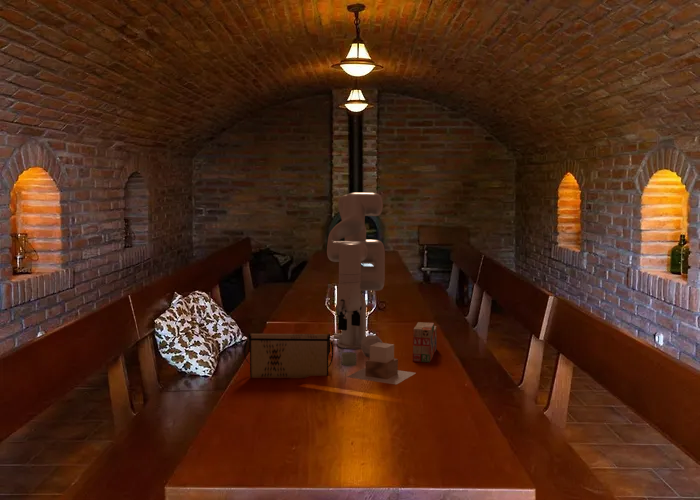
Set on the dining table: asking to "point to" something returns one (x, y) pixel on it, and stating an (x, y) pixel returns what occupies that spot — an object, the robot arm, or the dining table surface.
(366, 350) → the chicken leg
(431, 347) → the stack of blocks
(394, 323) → the dining table surface
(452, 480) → the dining table surface
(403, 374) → the grey board
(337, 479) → the dining table surface
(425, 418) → the dining table surface
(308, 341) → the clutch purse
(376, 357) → the middle block
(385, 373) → the base block
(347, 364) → the olive domed cylinder
